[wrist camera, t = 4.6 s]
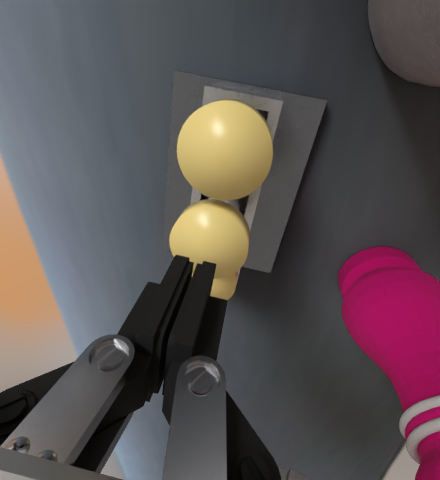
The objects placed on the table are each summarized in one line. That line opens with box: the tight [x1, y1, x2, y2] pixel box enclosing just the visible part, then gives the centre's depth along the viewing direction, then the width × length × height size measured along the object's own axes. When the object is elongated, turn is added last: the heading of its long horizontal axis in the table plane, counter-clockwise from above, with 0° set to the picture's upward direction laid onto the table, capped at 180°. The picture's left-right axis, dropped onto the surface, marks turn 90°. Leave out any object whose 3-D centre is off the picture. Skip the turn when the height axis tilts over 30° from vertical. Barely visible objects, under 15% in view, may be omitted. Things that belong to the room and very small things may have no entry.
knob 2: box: [169, 197, 250, 279], centre depth 16 cm, size 4×4×6 cm
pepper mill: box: [338, 246, 440, 480], centre depth 16 cm, size 7×7×20 cm
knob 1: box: [177, 99, 273, 201], centre depth 14 cm, size 4×4×6 cm
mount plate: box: [162, 71, 327, 284], centre depth 20 cm, size 14×10×5 cm
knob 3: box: [192, 271, 238, 300], centre depth 21 cm, size 4×4×6 cm
